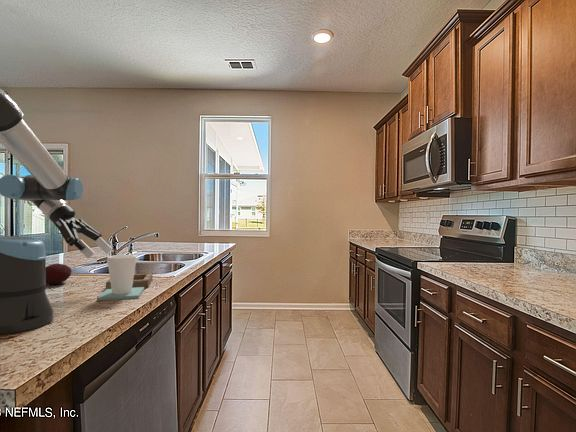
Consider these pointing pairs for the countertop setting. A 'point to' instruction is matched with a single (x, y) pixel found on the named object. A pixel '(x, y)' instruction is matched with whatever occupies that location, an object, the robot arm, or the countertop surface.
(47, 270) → the potato
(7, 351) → the countertop surface
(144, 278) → the brown flat square frame
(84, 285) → the countertop surface
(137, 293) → the mat
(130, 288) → the foam cup
